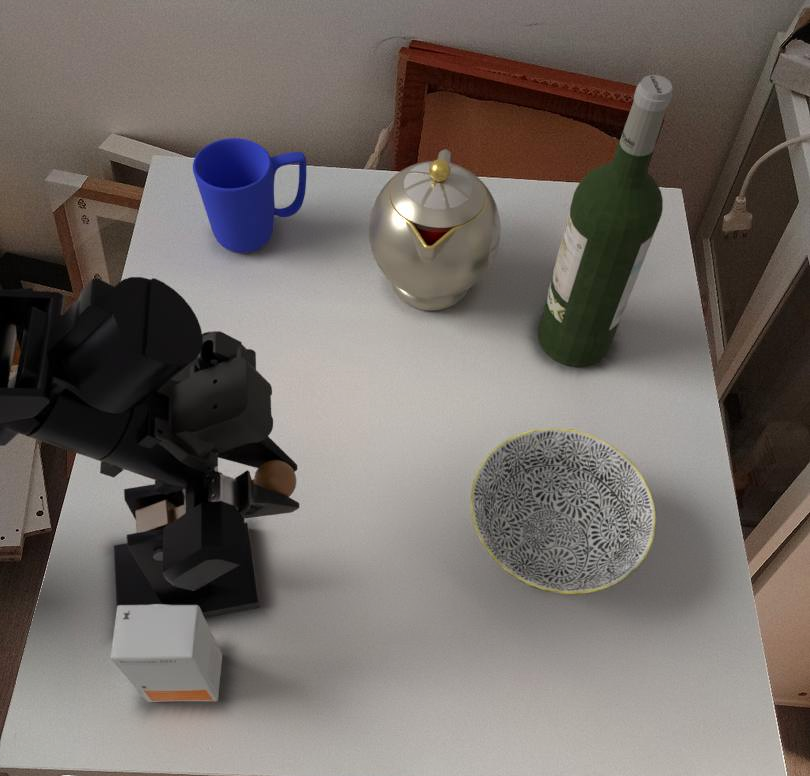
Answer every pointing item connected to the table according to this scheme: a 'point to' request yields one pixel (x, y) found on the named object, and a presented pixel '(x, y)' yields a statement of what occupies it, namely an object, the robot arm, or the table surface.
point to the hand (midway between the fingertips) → (295, 489)
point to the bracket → (147, 583)
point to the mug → (243, 191)
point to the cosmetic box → (167, 652)
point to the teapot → (434, 232)
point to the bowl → (563, 511)
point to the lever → (164, 512)
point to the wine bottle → (606, 238)
